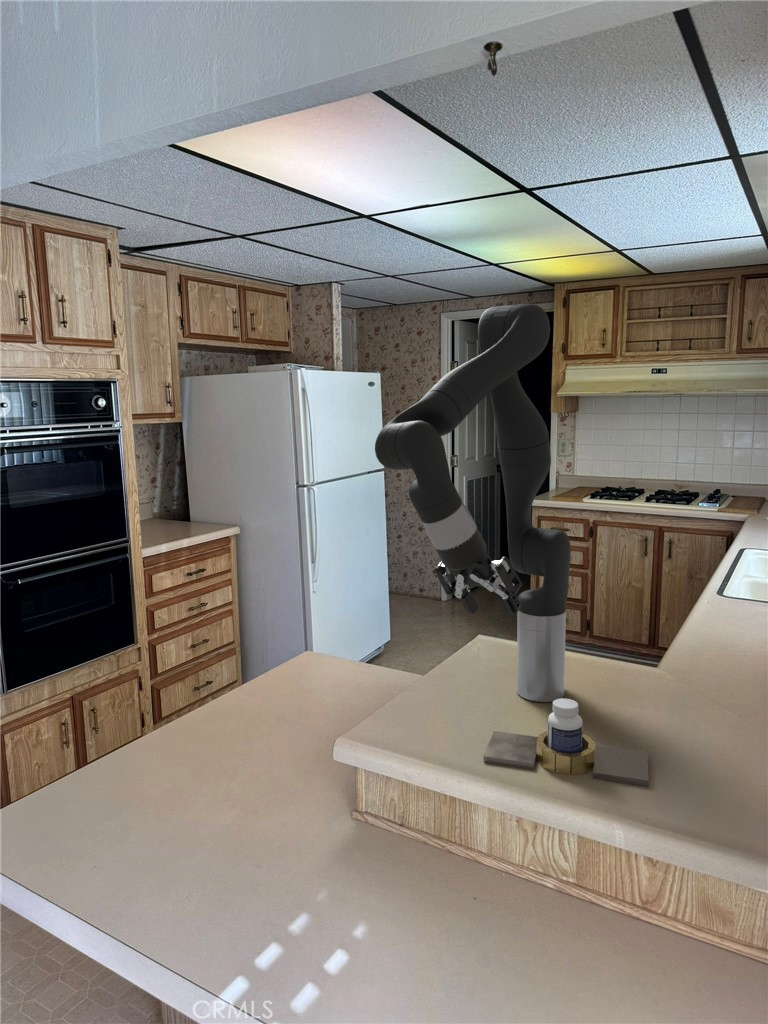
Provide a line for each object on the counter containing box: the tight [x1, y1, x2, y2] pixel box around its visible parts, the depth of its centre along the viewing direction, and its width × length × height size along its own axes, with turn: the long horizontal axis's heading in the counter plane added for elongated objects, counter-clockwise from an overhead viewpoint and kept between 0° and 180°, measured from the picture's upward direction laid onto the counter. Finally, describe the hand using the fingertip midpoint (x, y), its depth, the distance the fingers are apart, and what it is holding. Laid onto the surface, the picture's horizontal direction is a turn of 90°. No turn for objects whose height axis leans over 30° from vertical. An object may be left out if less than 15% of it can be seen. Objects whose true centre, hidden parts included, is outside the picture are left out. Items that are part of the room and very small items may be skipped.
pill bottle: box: [547, 697, 584, 754], centre depth 112 cm, size 5×5×10 cm
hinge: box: [483, 730, 650, 788], centre depth 112 cm, size 9×25×3 cm, turn 71°
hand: (494, 611), depth 116 cm, fingers open, 8 cm apart
